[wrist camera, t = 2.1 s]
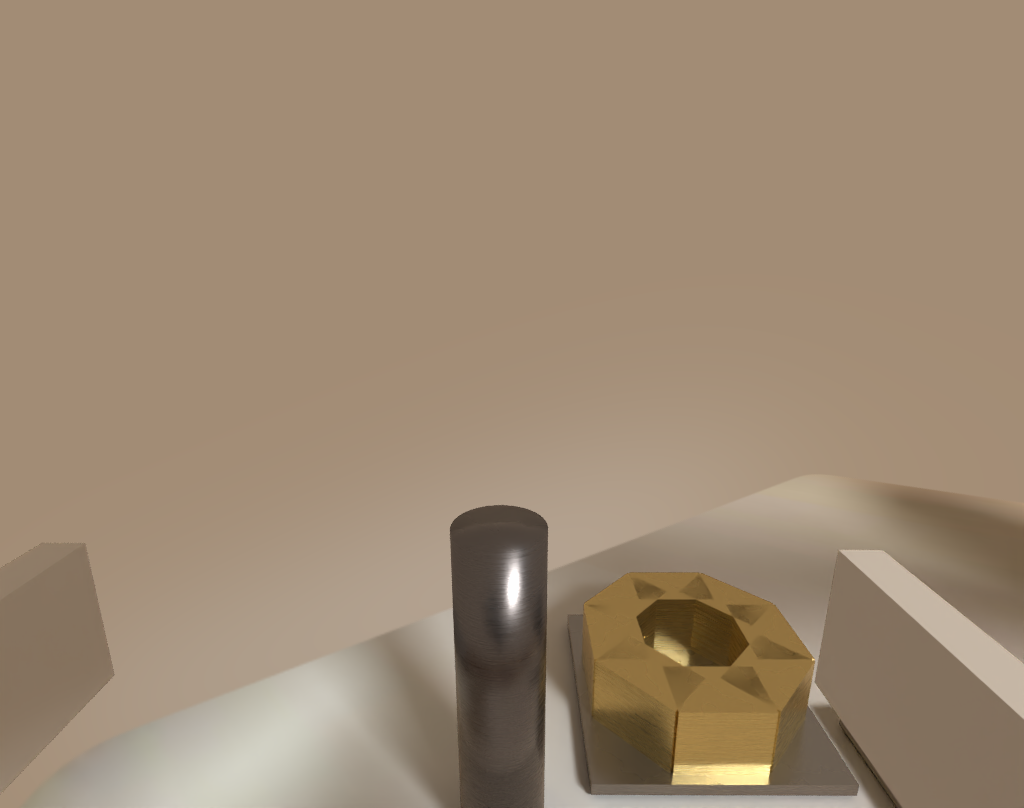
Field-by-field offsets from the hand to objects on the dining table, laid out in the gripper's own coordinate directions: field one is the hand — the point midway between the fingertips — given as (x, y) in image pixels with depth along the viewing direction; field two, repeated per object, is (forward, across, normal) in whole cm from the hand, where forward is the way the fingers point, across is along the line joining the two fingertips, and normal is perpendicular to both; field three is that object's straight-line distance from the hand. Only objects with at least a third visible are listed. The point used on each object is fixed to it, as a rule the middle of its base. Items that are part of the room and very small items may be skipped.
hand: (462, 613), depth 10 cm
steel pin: (+10, 0, -18) cm, 20 cm away
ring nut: (+17, +10, -17) cm, 26 cm away
